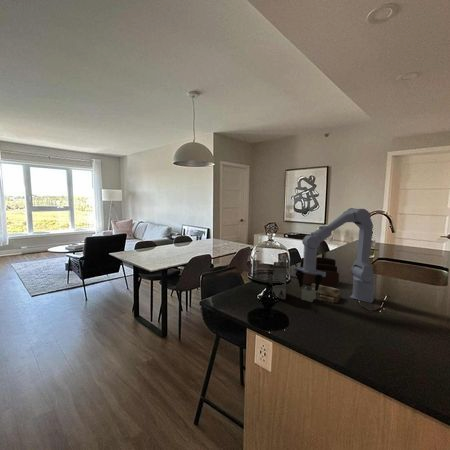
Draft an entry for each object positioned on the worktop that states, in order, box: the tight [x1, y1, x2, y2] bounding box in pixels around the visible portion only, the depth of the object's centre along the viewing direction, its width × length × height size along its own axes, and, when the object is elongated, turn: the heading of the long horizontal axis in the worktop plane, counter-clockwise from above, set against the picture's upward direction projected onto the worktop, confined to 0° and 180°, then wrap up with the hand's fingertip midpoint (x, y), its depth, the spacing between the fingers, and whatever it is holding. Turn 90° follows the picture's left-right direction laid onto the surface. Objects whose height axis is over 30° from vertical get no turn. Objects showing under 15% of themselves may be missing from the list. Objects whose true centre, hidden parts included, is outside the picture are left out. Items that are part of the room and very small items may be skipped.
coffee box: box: [272, 261, 288, 300], centre depth 126 cm, size 9×6×16 cm
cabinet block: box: [300, 285, 317, 303], centre depth 122 cm, size 5×5×6 cm
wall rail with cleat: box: [310, 283, 342, 304], centre depth 125 cm, size 14×10×4 cm
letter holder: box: [299, 256, 340, 287], centre depth 146 cm, size 10×20×14 cm, turn 80°
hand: (308, 288), depth 121 cm, fingers open, 7 cm apart
